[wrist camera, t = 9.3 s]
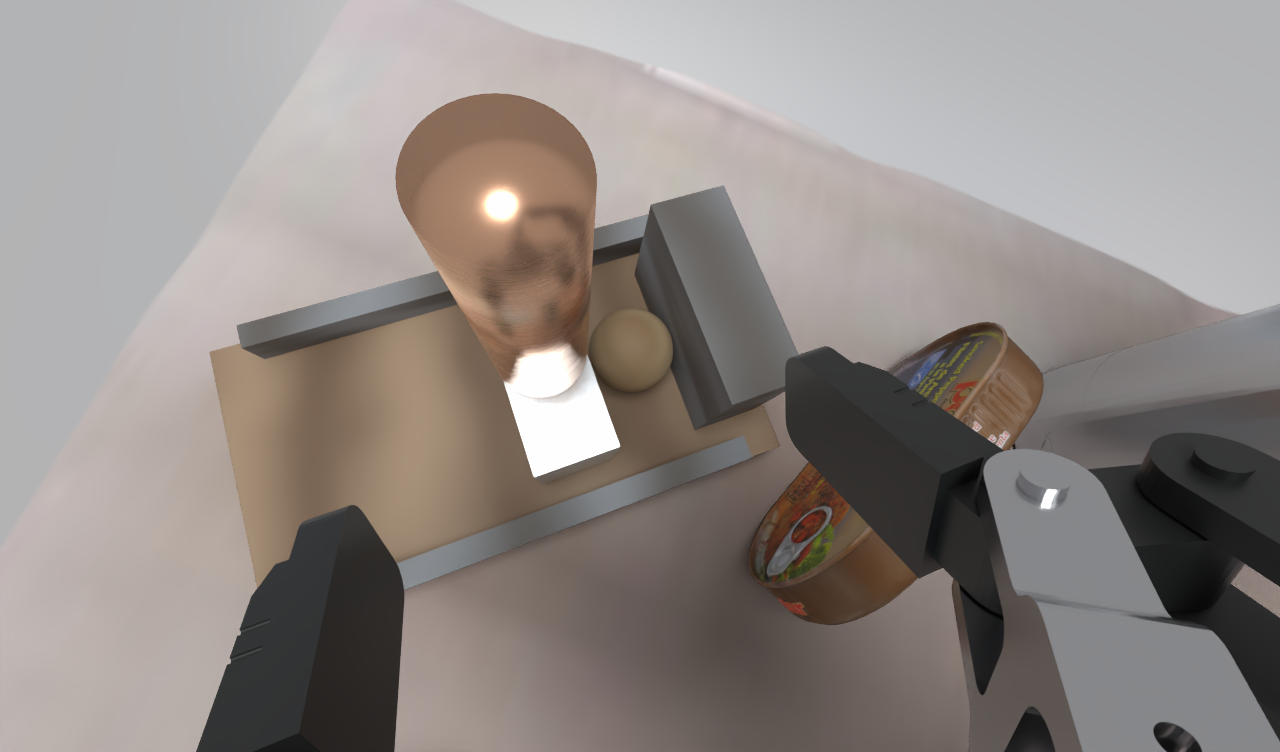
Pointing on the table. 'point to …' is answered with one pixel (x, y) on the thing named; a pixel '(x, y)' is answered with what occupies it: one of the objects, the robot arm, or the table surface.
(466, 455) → the railed wooden base
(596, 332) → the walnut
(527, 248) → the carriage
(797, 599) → the tin
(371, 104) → the table surface
